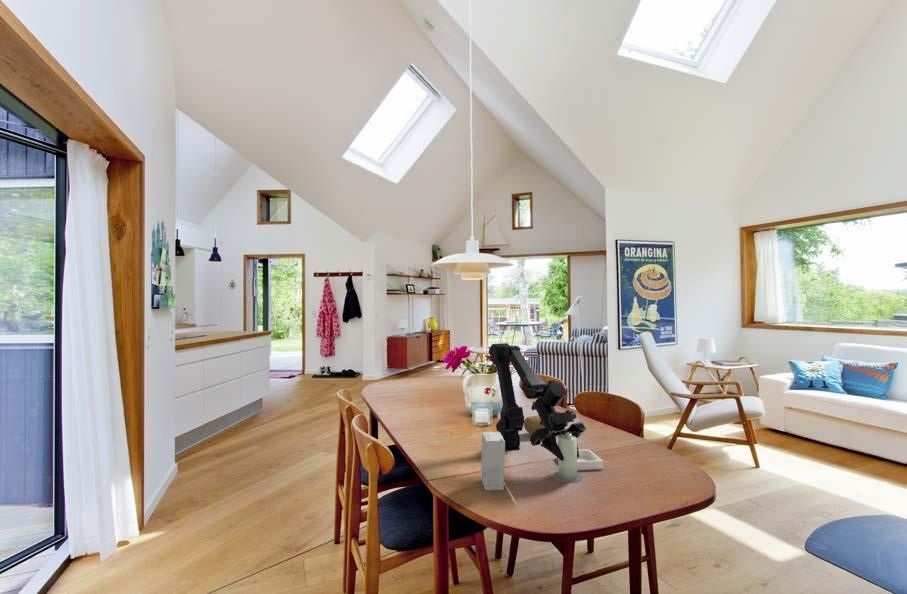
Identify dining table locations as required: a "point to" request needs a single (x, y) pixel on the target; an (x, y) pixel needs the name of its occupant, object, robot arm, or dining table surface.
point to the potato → (532, 424)
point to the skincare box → (493, 461)
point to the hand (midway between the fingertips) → (570, 458)
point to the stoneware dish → (588, 460)
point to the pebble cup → (567, 457)
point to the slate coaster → (579, 478)
